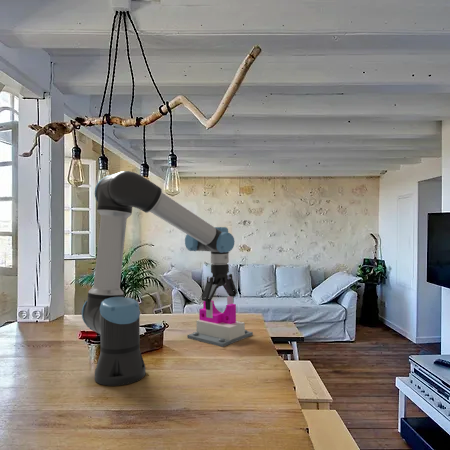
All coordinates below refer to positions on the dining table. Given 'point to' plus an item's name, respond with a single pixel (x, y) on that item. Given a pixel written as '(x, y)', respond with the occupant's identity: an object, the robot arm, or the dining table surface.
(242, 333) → the baseplate
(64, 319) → the dining table surface
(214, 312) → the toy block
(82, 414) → the dining table surface
